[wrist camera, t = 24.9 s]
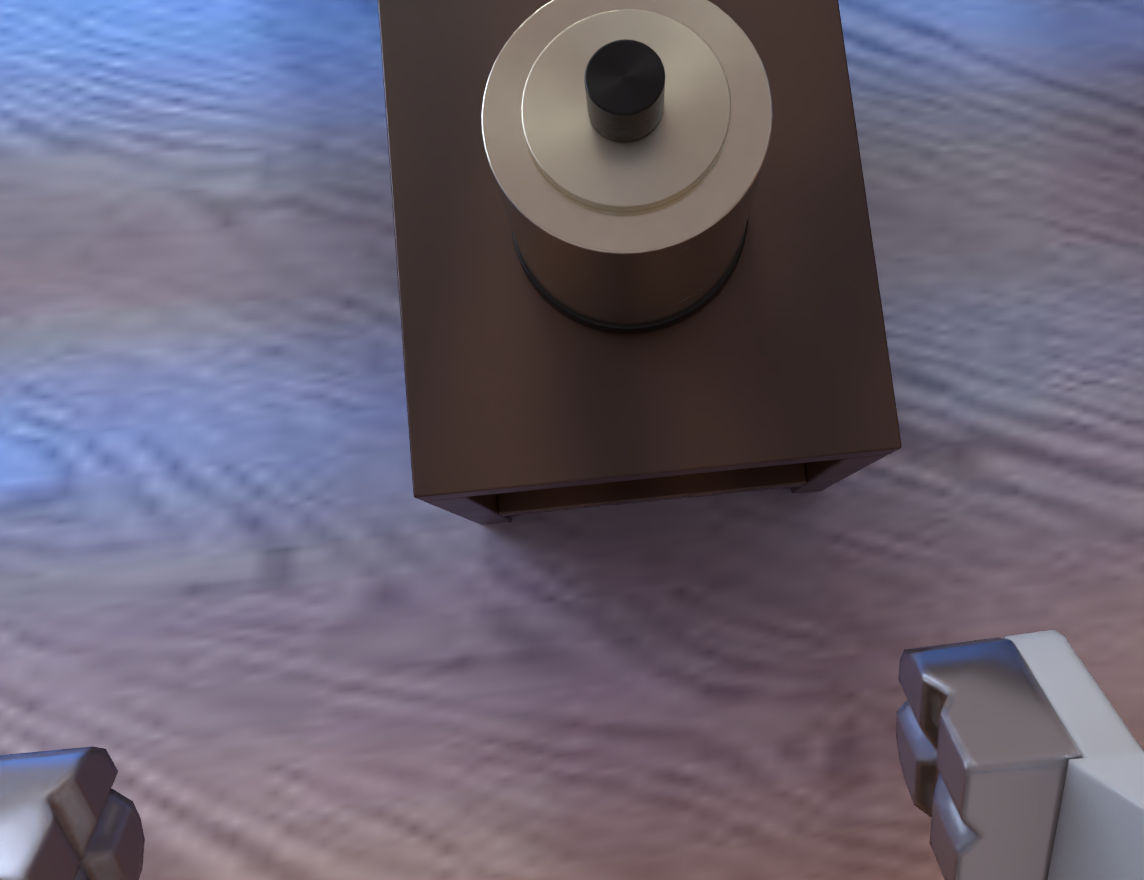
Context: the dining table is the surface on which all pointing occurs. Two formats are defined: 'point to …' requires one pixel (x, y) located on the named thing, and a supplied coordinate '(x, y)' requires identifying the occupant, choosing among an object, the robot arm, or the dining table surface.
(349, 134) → the dining table surface
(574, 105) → the kettle
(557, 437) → the stand
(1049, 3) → the dining table surface
